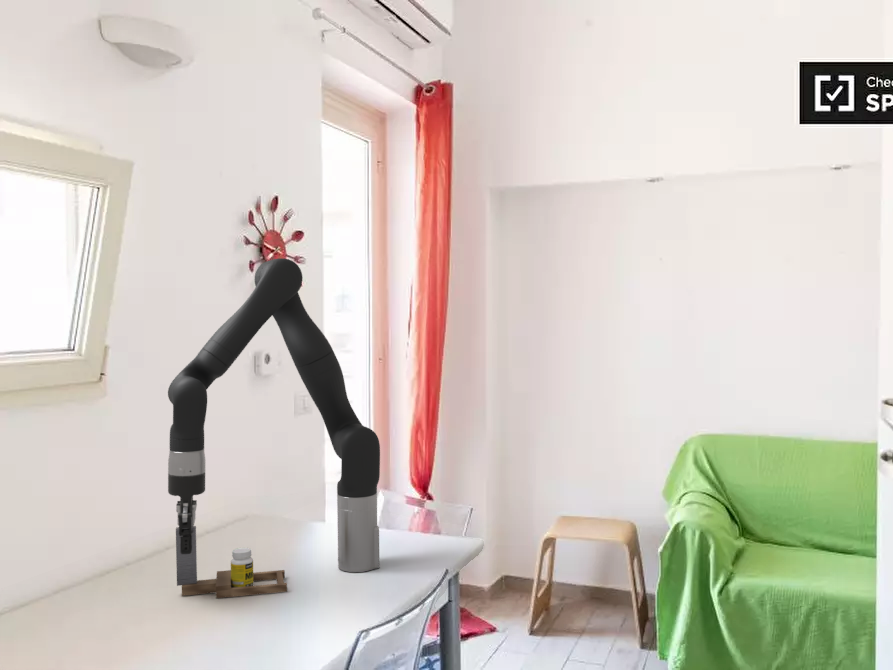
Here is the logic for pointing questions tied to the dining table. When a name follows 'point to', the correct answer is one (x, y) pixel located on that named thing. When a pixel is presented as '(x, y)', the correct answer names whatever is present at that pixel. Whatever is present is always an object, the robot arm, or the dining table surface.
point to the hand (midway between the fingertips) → (186, 551)
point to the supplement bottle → (241, 568)
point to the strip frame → (219, 576)
